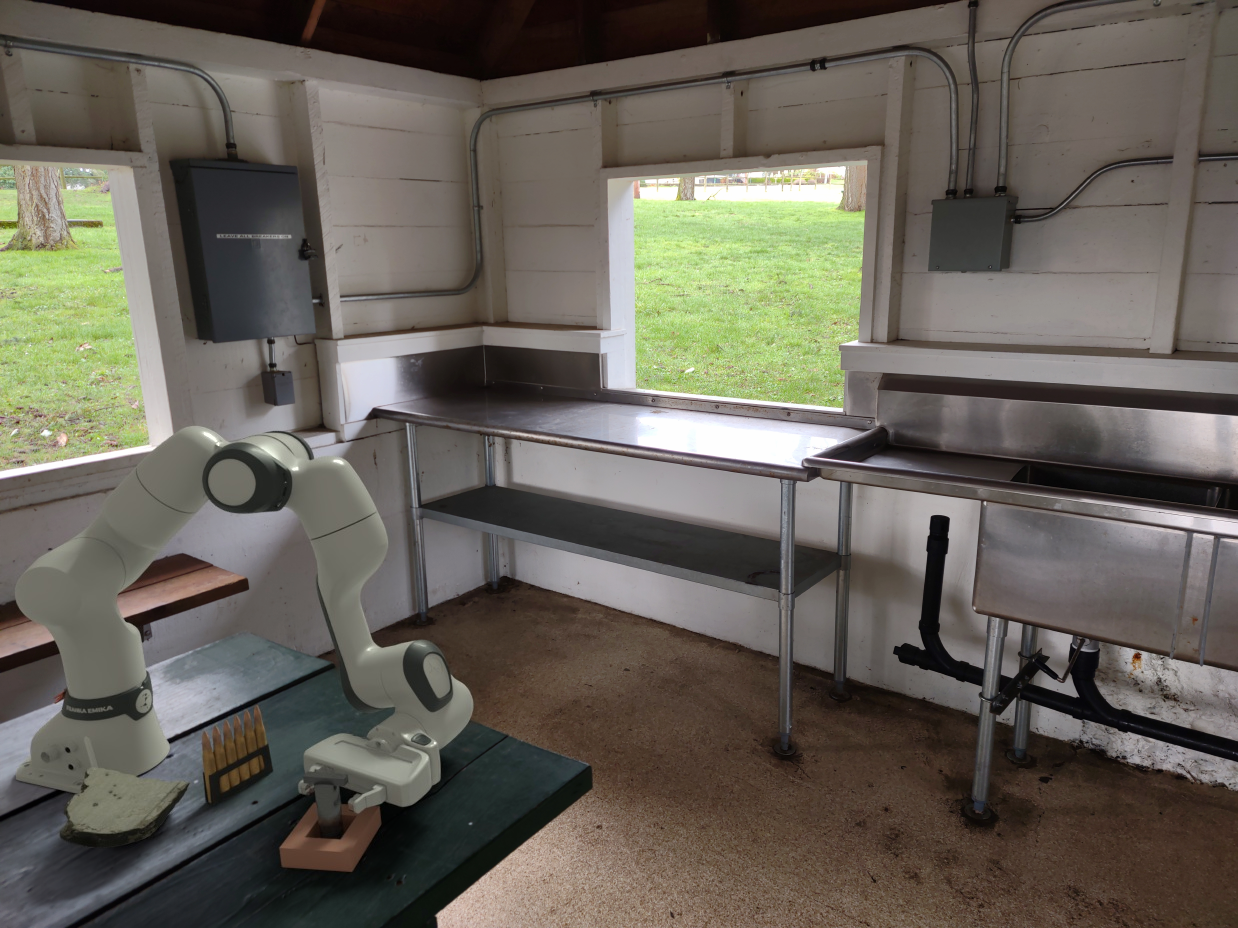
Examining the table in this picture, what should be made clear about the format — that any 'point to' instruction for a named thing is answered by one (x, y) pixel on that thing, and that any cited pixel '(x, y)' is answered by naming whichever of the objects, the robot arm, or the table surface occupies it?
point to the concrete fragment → (118, 808)
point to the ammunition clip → (235, 758)
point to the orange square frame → (330, 841)
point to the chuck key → (328, 802)
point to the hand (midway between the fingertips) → (326, 798)
